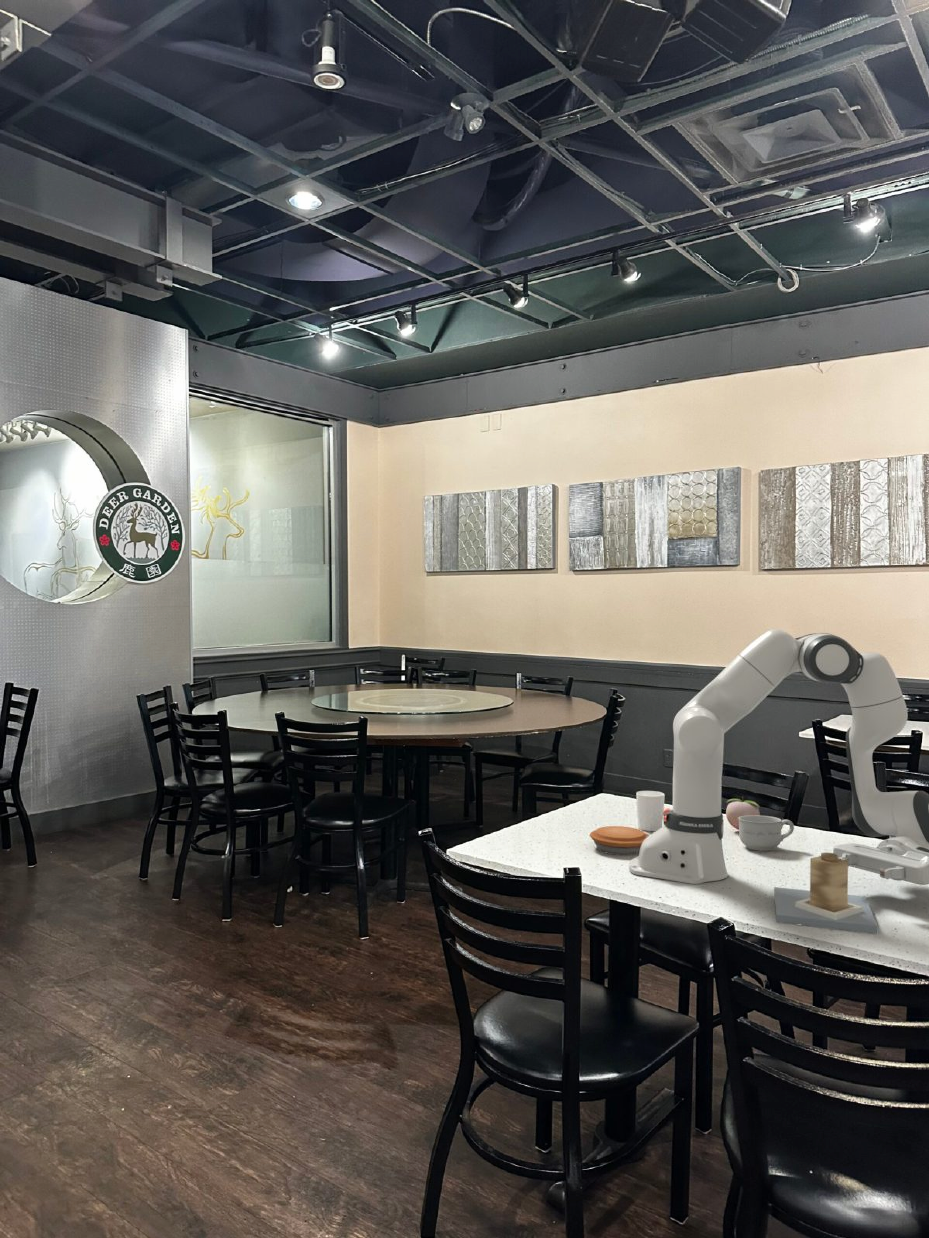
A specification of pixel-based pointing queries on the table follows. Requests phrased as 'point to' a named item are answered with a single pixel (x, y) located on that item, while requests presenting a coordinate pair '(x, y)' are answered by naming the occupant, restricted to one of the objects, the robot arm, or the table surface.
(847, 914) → the socket frame
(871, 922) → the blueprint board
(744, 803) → the decorative fruit
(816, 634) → the robot arm
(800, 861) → the table surface
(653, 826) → the white cup
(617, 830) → the pie
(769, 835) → the teacup
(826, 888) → the oak pillar
